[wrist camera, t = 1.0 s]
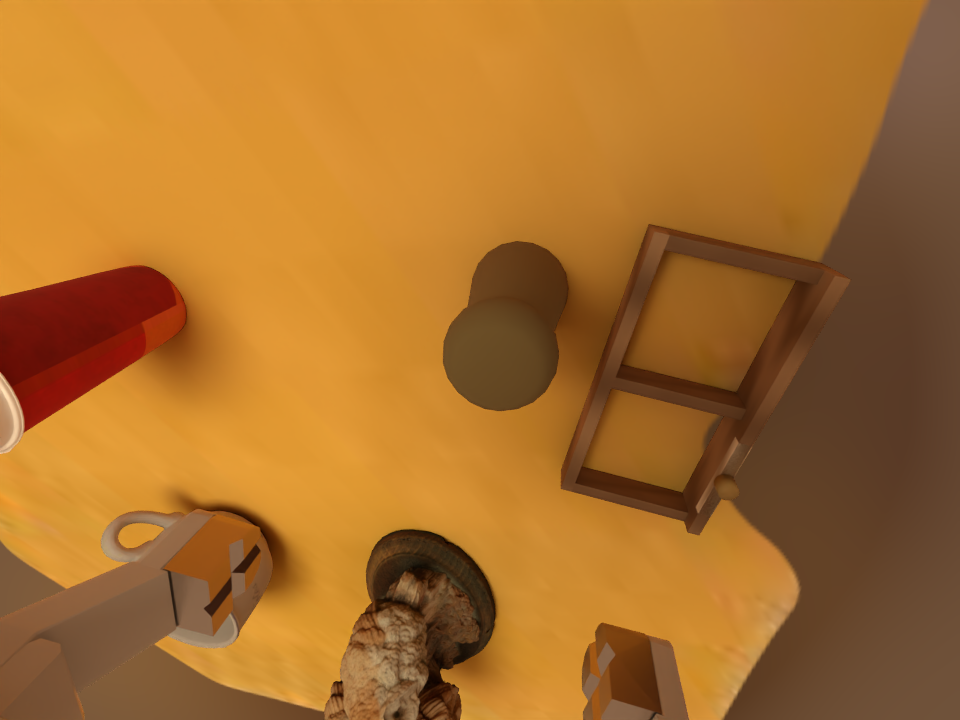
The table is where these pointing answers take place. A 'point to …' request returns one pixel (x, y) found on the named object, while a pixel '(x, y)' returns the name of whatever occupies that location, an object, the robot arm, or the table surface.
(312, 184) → the table surface
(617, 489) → the wooden divided frame
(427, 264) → the table surface
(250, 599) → the teacup
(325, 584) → the table surface
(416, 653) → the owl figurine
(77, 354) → the paper cup
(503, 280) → the cork
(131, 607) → the robot arm
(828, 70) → the table surface
